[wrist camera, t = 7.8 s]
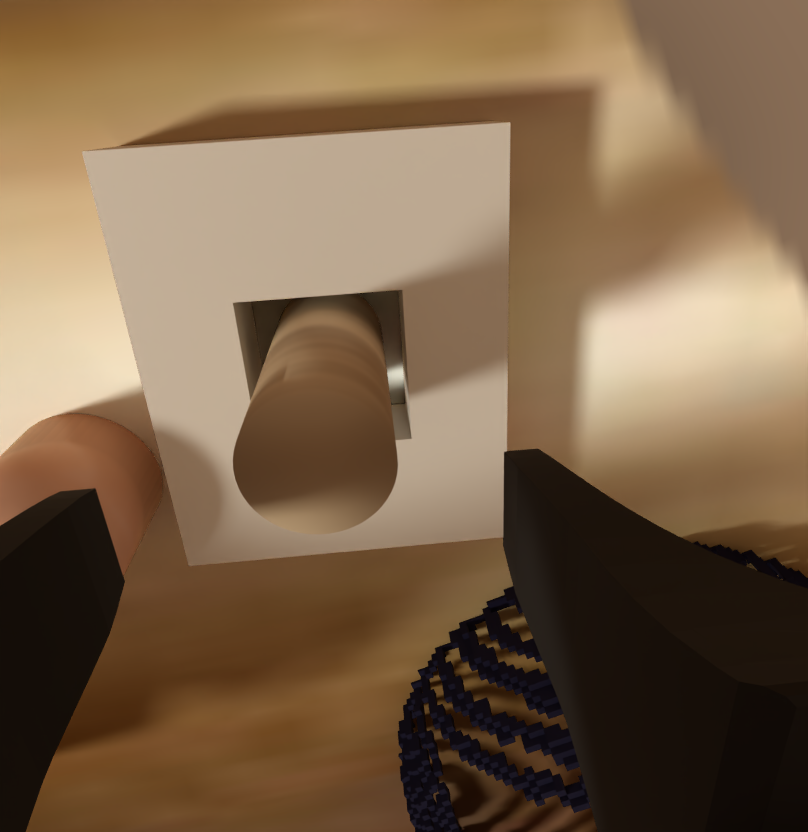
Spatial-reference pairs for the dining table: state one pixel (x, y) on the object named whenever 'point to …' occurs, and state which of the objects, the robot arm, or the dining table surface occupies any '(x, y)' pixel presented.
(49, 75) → the dining table surface
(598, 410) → the dining table surface
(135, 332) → the hole plate
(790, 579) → the decorative bowl
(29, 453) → the terracotta peg
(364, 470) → the beech pin
